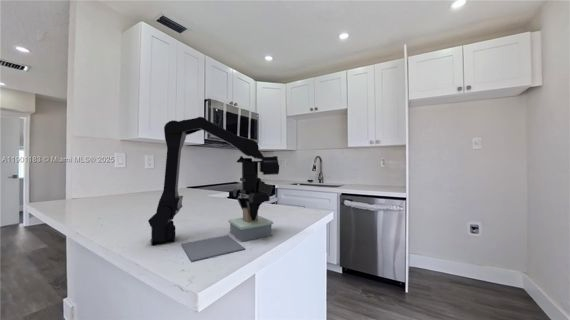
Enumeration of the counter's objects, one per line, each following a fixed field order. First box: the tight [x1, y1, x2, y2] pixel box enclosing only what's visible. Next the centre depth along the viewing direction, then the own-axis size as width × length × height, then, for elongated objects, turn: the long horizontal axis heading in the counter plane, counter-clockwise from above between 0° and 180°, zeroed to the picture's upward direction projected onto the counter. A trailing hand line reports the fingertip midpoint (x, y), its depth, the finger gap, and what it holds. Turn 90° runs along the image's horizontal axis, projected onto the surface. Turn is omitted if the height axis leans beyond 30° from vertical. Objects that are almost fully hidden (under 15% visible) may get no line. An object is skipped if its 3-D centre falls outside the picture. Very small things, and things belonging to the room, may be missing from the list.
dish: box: [229, 223, 272, 242], centre depth 82 cm, size 11×11×4 cm
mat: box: [180, 234, 246, 263], centre depth 70 cm, size 15×15×1 cm
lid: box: [227, 207, 274, 230], centre depth 82 cm, size 12×12×5 cm
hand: (250, 218), depth 82 cm, fingers open, 5 cm apart
